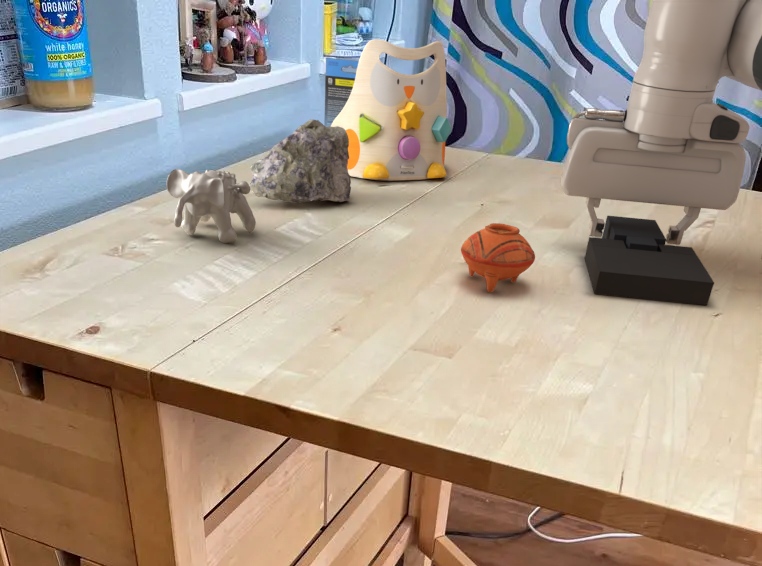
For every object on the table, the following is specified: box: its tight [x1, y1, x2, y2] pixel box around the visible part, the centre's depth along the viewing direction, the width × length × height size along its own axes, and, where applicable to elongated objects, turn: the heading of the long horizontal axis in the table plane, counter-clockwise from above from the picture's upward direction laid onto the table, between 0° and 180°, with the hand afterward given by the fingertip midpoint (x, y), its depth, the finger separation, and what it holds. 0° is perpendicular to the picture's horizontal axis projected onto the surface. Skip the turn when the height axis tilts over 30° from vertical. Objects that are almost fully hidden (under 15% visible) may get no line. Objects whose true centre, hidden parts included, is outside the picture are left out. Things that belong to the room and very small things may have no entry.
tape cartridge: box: [323, 57, 365, 127], centre depth 138 cm, size 9×4×12 cm, turn 74°
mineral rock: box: [249, 118, 352, 204], centre depth 107 cm, size 13×11×10 cm
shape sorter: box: [331, 38, 452, 182], centre depth 119 cm, size 20×10×18 cm, turn 111°
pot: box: [460, 222, 536, 294], centre depth 87 cm, size 8×8×7 cm
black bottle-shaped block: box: [601, 215, 667, 251], centre depth 98 cm, size 6×11×3 cm, turn 172°
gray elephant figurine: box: [166, 168, 257, 244], centre depth 92 cm, size 9×12×8 cm
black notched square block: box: [584, 236, 715, 306], centre depth 91 cm, size 12×12×2 cm
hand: (633, 239), depth 99 cm, fingers open, 8 cm apart
